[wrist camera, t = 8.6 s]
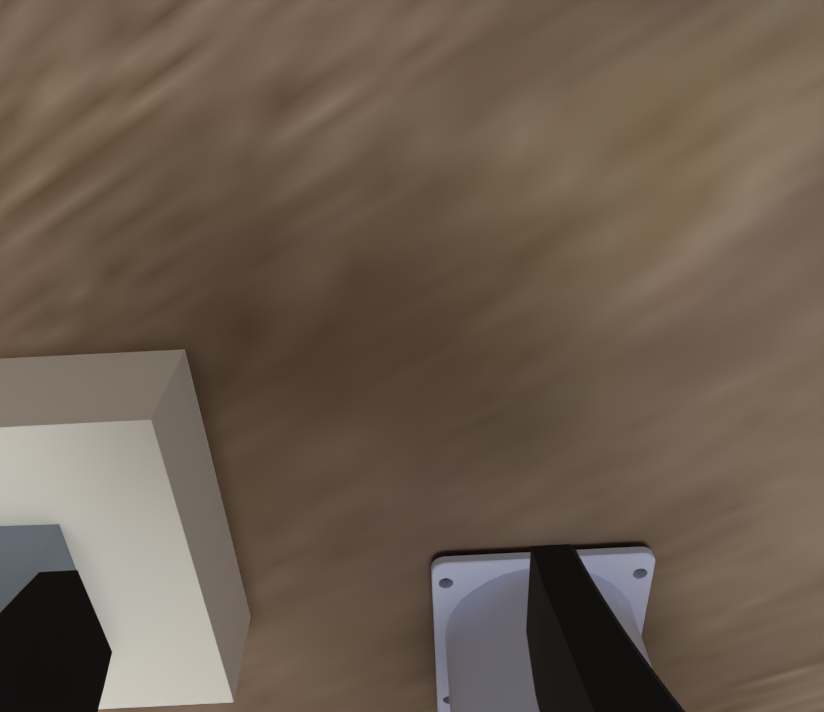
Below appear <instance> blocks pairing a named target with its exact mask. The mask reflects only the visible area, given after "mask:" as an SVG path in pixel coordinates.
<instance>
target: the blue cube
mask: <svg viewBox="0 0 824 712" xmlns="http://www.w3.org/2000/svg"><path fill="white" fill-rule="evenodd" d="M69 570H76V568H75V565H74V562H73V560H72V557H71V554H70V552H69V549H68V546H67V544H66V541H65V538H64V536H63V533H62V531H61V528H60V525H59V524H52V525H21V526H0V612H1V611H2V610H3V609H4V608H5V607H6V606H7V605H8V604H9V603H10V602H11V601H12V600H13V599H14V598H15V596H16V595H17V594H18V593H19V592H20V591H21V590H22V589H23V588H24V587H25V586H26V585H27V584H28V583H29V582H30V581H31V580H32V579H33V578H34V577H35V576H36V575H37V574H38V573H39V572H49V571H69Z"/></svg>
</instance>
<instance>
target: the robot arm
mask: <svg viewBox="0 0 824 712" xmlns="http://www.w3.org/2000/svg"><path fill="white" fill-rule="evenodd" d="M654 566H655V557H654V555H653V552H652V551H651V550H650V549H649V548H647V547H620V548H600V549H581V550H576V549H575V548H573V547H572V546H571V545H570V544H567V545H548V546H531V552H521V553H501V554H481V555H461V556H444V557H439V558H437V559H435V560H434V561H433V563H432V565H431V576H432V598H433V619H434V641H435V663H436V685H437V706H438V712H685V711H684V710H683V709H682V707H681V706H680V705H679V704H678V702H677V701H676V700H675V698H674V697H673V696H672V695H671V693H670V692H669V691H668V689H667V688H666V687H665V685H664V684H663V683H662V681H661V680H660V679H659V677H658V676H657V675H656V673H655V672H654V671H653V669H652V666H651V663H650V660H649V657H648V655H647V652H646V649H645V646H644V643H643V640H642V637H641V636H642V630H643V625H644V620H645V614H646V609H647V604H648V598H649V593H650V588H651V582H652V577H653V572H654ZM637 569H639V570H637ZM444 578H448V579H447V580H443V579H444ZM111 655H112V650H111V648H110V646H109V643H108V641H107V638H106V636H105V634H104V631H103V629H102V627H101V624H100V622H99V620H98V617H97V615H96V612H95V610H94V608H93V605H92V603H91V601H90V598H89V596H88V594H87V591H86V589H85V587H84V584H83V582H82V579H81V577H80V575H79V572H78V570H69V571H49V572H39V573H38V574H37V575H36V576H35V577H34V578H33V579H32V580H31V581H30V582H29V583H28V584H27V585H26V586H25V587H24V588H23V589H22V590H21V591H20V592H19V593H18V594H17V595H16V596H15V598H14V599H13V600H12V601H11V602H10V603H9V604H8V605H7V606H6V607H5V608H4V609H3V610H2V611H1V612H0V712H98V708H99V704H100V700H101V696H102V693H103V689H104V685H105V680H106V676H107V672H108V668H109V663H110V659H111Z"/></svg>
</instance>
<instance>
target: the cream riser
mask: <svg viewBox="0 0 824 712" xmlns="http://www.w3.org/2000/svg"><path fill="white" fill-rule="evenodd" d="M52 524H59V525H60V528H61V531H62V533H63V536H64V538H65V541H66V544H67V546H68V549H69V552H70V554H71V557H72V560H73V562H74V565H75V568H76V570H78V572H79V575H80V577H81V579H82V582H83V584H84V587H85V589H86V591H87V594H88V596H89V598H90V601H91V603H92V605H93V608H94V610H95V612H96V615H97V617H98V620H99V622H100V624H101V627H102V629H103V631H104V634H105V636H106V638H107V641H108V643H109V646H110V648H111V650H112V655H111V659H110V663H109V668H108V672H107V676H106V680H105V685H104V689H103V693H102V696H101V700H100V704H99V708H98V709H112V708H131V707H151V706H171V705H190V704H210V703H230V702H234V699H235V694H236V689H237V684H238V679H239V674H240V669H241V664H242V659H243V654H244V649H245V644H246V639H247V634H248V629H249V624H250V619H251V616H250V612H249V607H248V603H247V599H246V595H245V591H244V587H243V583H242V579H241V575H240V571H239V567H238V563H237V559H236V555H235V551H234V547H233V542H232V538H231V534H230V530H229V526H228V522H227V518H226V514H225V510H224V506H223V502H222V498H221V494H220V490H219V486H218V481H217V477H216V473H215V469H214V465H213V461H212V457H211V453H210V449H209V445H208V441H207V437H206V433H205V429H204V425H203V421H202V416H201V412H200V408H199V404H198V400H197V396H196V392H195V388H194V384H193V380H192V376H191V372H190V368H189V364H188V360H187V356H186V351H185V349H182V350H162V351H142V352H122V353H103V354H83V355H63V356H43V357H23V358H3V359H0V526H21V525H52Z"/></svg>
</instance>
